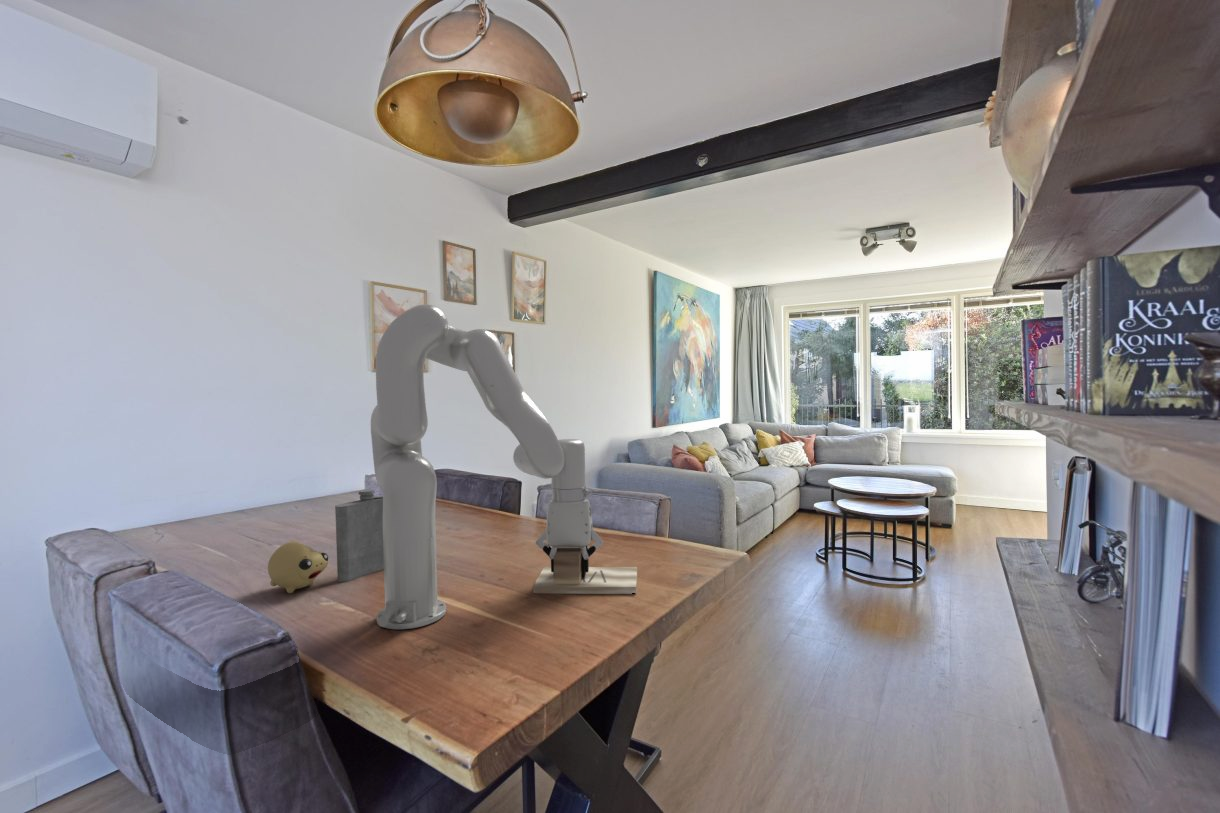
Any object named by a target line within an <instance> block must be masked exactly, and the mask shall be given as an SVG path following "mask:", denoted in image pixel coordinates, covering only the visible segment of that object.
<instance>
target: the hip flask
mask: <svg viewBox="0 0 1220 813" xmlns="http://www.w3.org/2000/svg"><path fill="white" fill-rule="evenodd" d="M375 493H376V490H375V489H374V488H371V489H370V488H369V489H368V488H367V489H366V488H365V489H361V490H358V495H359V499H360V500H354V501H349V502H344V503H339V504H335V538H336V539H335V541H336V565H337V567H336V570H337V573H336V574H337V582H338V581H339V582H338V583H346V582H350V581H353V580H355V579H359V578H360V577H364V576H366V575H367V576H368V575H370V574H373V573H377V572H380V571H384V551H383V494H382V495H375Z"/></svg>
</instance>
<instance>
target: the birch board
mask: <svg viewBox="0 0 1220 813" xmlns="http://www.w3.org/2000/svg"><path fill="white" fill-rule="evenodd" d="M637 585H638V567H637V566H589V571H588V572H586V575H585V577H582V579H581V581H580V584H554V572H551V566H543V568H542V570H541V572H540V573H539V575H538V577H537V579H536V580H535V582H534V583H533V585H532V593H533V594H577V595H578V594H582V595H583V594H585V595H586V594H589V595H590V594H591V595H593V594H595V595H599V594H600V595H602V594H605V595H606V594H607V595H611V594H612V595H633V594H632V593H635V594H634V595H636V594H637V589H636V588H638V587H637Z"/></svg>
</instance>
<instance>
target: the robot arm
mask: <svg viewBox="0 0 1220 813" xmlns="http://www.w3.org/2000/svg"><path fill="white" fill-rule="evenodd" d="M426 359H427V360H430V361H433V362H436V363H438V364H441V365H443V366H445V367H449V368H452V369H455V370H458V371H462V372H467V374H468V375H469V377H470V379H471V382H472V383H473V385H474V387H475V388H476V389H475V390H477V392H478V394H479V396H480V398H481V400H482V401H483V404H484V406H485V408H486V409H487V411H489V413H490V414H491V415H492V416H493V417H494V418H495V419H497V420H498V421H500V422H501V423H502V424H503V425H504V426H505V427H506V428H508V430H509V431H510V432H511V433H512V434H513V437H515V438H516V440H517V441H518V442H519V444H518V445H517V446H516V448H515V449H514V451H513V456H512V457H513V458H512V459H513V463H514V466H515V467H517V469H518V470H519V471H520V472H522V473H525V474H527V475H530V476H534V477H537V478H541V479H545V480H547V479H551V499H550V500H548V507H547V511H546V512H547V513H546V522H545V523H546V526H545V530H544V532H543V533H542V534H541V535H540V536H539V537H538V538H537V540H536V541H535V544H536V545H537V546H538V547H539V548H540V549H541V550H542V551H543V552H544V553H545V554H546V555H547V556H548V557H549V559H550V567H551V572H554V555H555V553H556V551H557V549H558V548H559V547H580V550H581V553H582V555H583V556H582V560H581V576H582V577H585V575H586V572H588V571H589V567H590V566H589V565H590V563H589V561H590V560H589V559H590V557H591V556H592V555H593V554H594V553H595V552H596V551H597V550H598V549H600V547H601V546H602V545H603V544H604V540H603V538H602V537H600V536H599V534H598V533H597V532H596V531H595V530H594V529H593V518H592V517H593V515H592V508H591V503H590V500H589V499H587V497H589V496H592V495H593V490H592V489H589V488H588V487H586V447H585V443H584V442H583V441H582V440H580V439H575V438H564V439H562V438H561V439H558V437H557V435H556V433H555V431H554V429H553V427H552V426H551V424H550V422H549V421H548V420H547V419H548V418H546V416H545V415H544V414H543V412H542V411H541V410H540V409H539V407H538V406H537V405H536V404H535V402H534V401H533V400H532V399H531V397H530V396H529V395H528V394H527V392H526V391H525V390H524V387H523V386H522V384H521V382H520V379H519V377H518V376H517V374H516V373H515V370H514V368H513V367H512V364H511V363H510V361H509V359H508V357H507V355H506V353H505V351H504V349H503V346H502V345H501V343H500V341H499V340H498V338H497V337H496V335H495V334H494V333H493V332H491V331H490V330H488V329H482V328H476V329H471V330H469V331H467V330H463V329H459V328H457V327H454V326H452V325H449V322H448V318H447V316H446V314H445V313H444V312H443V310H441V309H440V308H439V307H437V306H435V305H432V304H426V303H425V304H424V303H423V304H419V305H416V306H413V307H411V308H409V309H407V310H405V311H404V312H403V313H401V314H399V315H398V316H397V317H396V318H395V319H394V320H392V322H390V324H389V325H388V326H387V328H386V329H385V331H384V332H383V334H382V336H381V338H380V340H379V343H378V346H377V349H376V353H375V387H376V388H375V392H376V400H377V401H376V406H375V407H374V409H373V411H372V413H371V416H370V435H371V446H372V447H371V448H372V458H373V459H372V460H373V467H374V468H373V469H374V476H375V480H376V482H377V484H378V485H379V488H380V489H381V490H382V495H383V551H384V570H383V575H384V576H383V579H384V580H383V581H384V584H383V585H384V607H382V608H381V609H380V610H379V611H378V613H377V614H376V623H377V625H378V627H380V628H381V627H382V628H385V629H390V630H410V629H416V628H420V627H424V626H427V625H430V624H433V623H435V622H438V621H439V620H440V619H441V618H443V617H444V615H446V613H447V606H446V603H445V602H443V601H442V600H440V599H438V572H437V569H438V567H437V565H438V564H437V534H436V501H437V492H438V490H437V489H438V481H437V474H436V471H435V469H434V466H433V465H432V463H431V462H430V461H429V460H428V458H426V457H424V456H423V453H422V451H423V450H422V449H423V448H422V441H421V440H422V439H423V437H424V436H425V434H426V432H427V430H428V424H429V423H428V412H427V406H426V405H427V404H426V396H425V395H426V393H425V384H424V381H425V380H424V379H425V378H424V367H425V361H426ZM592 540H593V541H594V543H593V544H591V542H592ZM545 541H546V542H545ZM589 545H591V546H590V547H589Z"/></svg>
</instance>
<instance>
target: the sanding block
mask: <svg viewBox="0 0 1220 813" xmlns="http://www.w3.org/2000/svg"><path fill="white" fill-rule="evenodd" d="M582 556H583V555H582V553H581V550H580V547H559V548H558V549H557V551H556V553H555V555H554V584H580V581H581V579H582V576H581V560H582Z"/></svg>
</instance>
